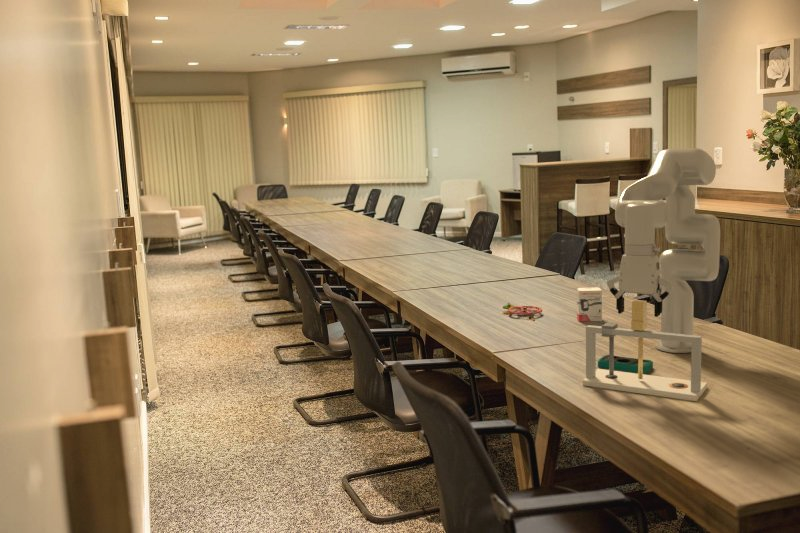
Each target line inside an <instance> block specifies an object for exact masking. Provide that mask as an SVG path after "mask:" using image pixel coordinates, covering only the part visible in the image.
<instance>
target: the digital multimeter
mask: <svg viewBox="0 0 800 533" xmlns="http://www.w3.org/2000/svg"><path fill="white" fill-rule="evenodd" d="M653 367H654V362H653V361H652V360H650V359H643V374H644V375H646V374H647V373H649V372H650V371H652V369H653ZM597 368H598V369H605V370H609V354H606V355H604V356H602V357H601V358H599V359H598V361H597ZM614 371H621V372H629V373H636V374H638V358H633V357H625V356H618V355H614Z"/></svg>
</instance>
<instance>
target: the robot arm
mask: <svg viewBox="0 0 800 533" xmlns="http://www.w3.org/2000/svg"><path fill="white" fill-rule="evenodd" d="M716 171H717V170H716V163H715V160H714V158H713V157H712V156H711V155H710V154H709V153H708V152H706V151H705V150H704V149H701V148H695V147H688V148H687V147H685V148H684V147H683V148H666V149H663V150H660V151H659V152H658V153H657V154H656V155H655V158H654V159H653V162H652V165H651V167H650V168H649V171H648V173H647V176H645V177H643V178H641V179H639V180H637V181H635V182H634V183H632V184H630V185H629V186H627V187H626V188H625V189H623V191H622V193H621V194H620V196H619V199H618V201H617V203H616V207H615V210H614V218H615V222H616V223H617V225H618V226H620V227H622V228H624V254H622V255H621V260H620V267H619V274H618V276H615V277H613V278H611V279H609V280H608V281H606V285H607V287H608V289H609V292H610V293H611V294H612V295H613V296H614V298H615V299H616V300H615V301H616V303H615V304H616V305H615V306H616V310H617V314H618V315H619V314H622V313H624V312H625V297H624V296H623V295H625V294H626V293H628V294H638V295H639V294H642V295H652V297H653V298H654V299H655V301H654V308H653V309H654V312H653V314H654V317H656V318H657V317H659V316H661V318H660V319H661V320H660V324H661V325H660V332H665V333H675V334H685V335H694V304H695V303H694V298H695V294H694V292H693V289H692V287H691V286H690V285H689V283H688V282H687V281H694V282H696V281H698V282H713V281H715V280H716V279H717V277H718V276H719V270H720V251H721V250H720V249H721V225H720V221H719V219H718V217H717V216H715V215H713V214H708V213H707V214H706V213H705V214H704V213H703V214H702V213H699V214H698V213H696V197H695V194H694V193H693V191H692V190H691V189H690V188H689V186H708V185H710V184H712V183H713V182H714V180H715V178H716V173H717V172H716ZM664 199H665V201H663V200H664ZM662 228H664V234H665V239H666V241H667V242H668V243H670V244H673V245H681V246H682V245H684V246H701V247H702V249H690V248H688V249H687V248H669V249H666V250H664V251H663V252H661V247H660V246H657V245H656V240H655V238H656V236H655V235H656V233H655V232H656V229H662ZM660 252H661V254H660V255H659V256H658V255H657V254H656V253H660ZM616 283H618V289H619V290H618V289H617V287H615V284H616ZM691 347H692V343H688V342H679V341H669V340H659V341H657V342H656V343H655V348H656V349H657V350H659V351H663V352H666V353H672V354H689V353H691Z"/></svg>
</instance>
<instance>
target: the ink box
mask: <svg viewBox="0 0 800 533" xmlns="http://www.w3.org/2000/svg"><path fill="white" fill-rule="evenodd" d="M576 320H577V321H578V322H579V323H580V322H581V323H582V322H583V323H584V322H603V290H602V289H601V288H600V287H597V286H596V287H578V288H576Z"/></svg>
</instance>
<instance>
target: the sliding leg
mask: <svg viewBox="0 0 800 533" xmlns="http://www.w3.org/2000/svg"><path fill="white" fill-rule="evenodd" d="M647 303H648V302H647V300H643V299H642V300H641V299H634V300H633V301H632V302H631V321H630V322H631V323H630V326H631V327H630V329H631V330H639V331H643V330H644V331H645V329H647V328H648V318H647V313H648V312H647V310H648V309H647V308H648V307H647ZM637 338H638V341H637V344H638V347H637V348H638V349H637V353H638V354H637V355H638V356H637V357H638V358H637V359H638V373H637V374H638V379H643V360H644V338H640V337H637Z"/></svg>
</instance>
